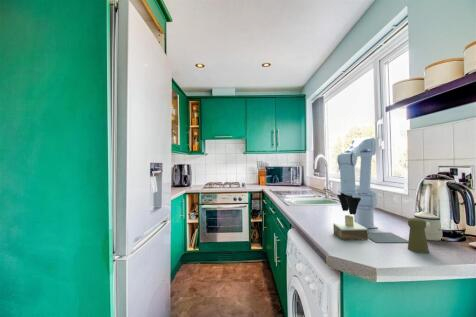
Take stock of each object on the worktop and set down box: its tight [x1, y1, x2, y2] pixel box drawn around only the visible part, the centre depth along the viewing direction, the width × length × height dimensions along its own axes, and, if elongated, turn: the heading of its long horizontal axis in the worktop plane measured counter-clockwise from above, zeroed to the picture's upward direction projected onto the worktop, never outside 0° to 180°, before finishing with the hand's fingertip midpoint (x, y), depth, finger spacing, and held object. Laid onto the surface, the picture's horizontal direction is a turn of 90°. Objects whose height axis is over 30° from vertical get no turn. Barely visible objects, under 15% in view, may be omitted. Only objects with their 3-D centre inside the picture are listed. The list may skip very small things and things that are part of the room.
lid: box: [333, 214, 368, 231], centre depth 100 cm, size 10×10×5 cm
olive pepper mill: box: [407, 217, 430, 254], centre depth 83 cm, size 6×6×11 cm
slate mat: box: [367, 232, 409, 244], centre depth 97 cm, size 13×13×1 cm
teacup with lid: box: [413, 210, 443, 242], centre depth 95 cm, size 12×9×12 cm
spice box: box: [332, 224, 369, 241], centre depth 100 cm, size 10×10×4 cm
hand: (348, 212), depth 100 cm, fingers open, 7 cm apart
